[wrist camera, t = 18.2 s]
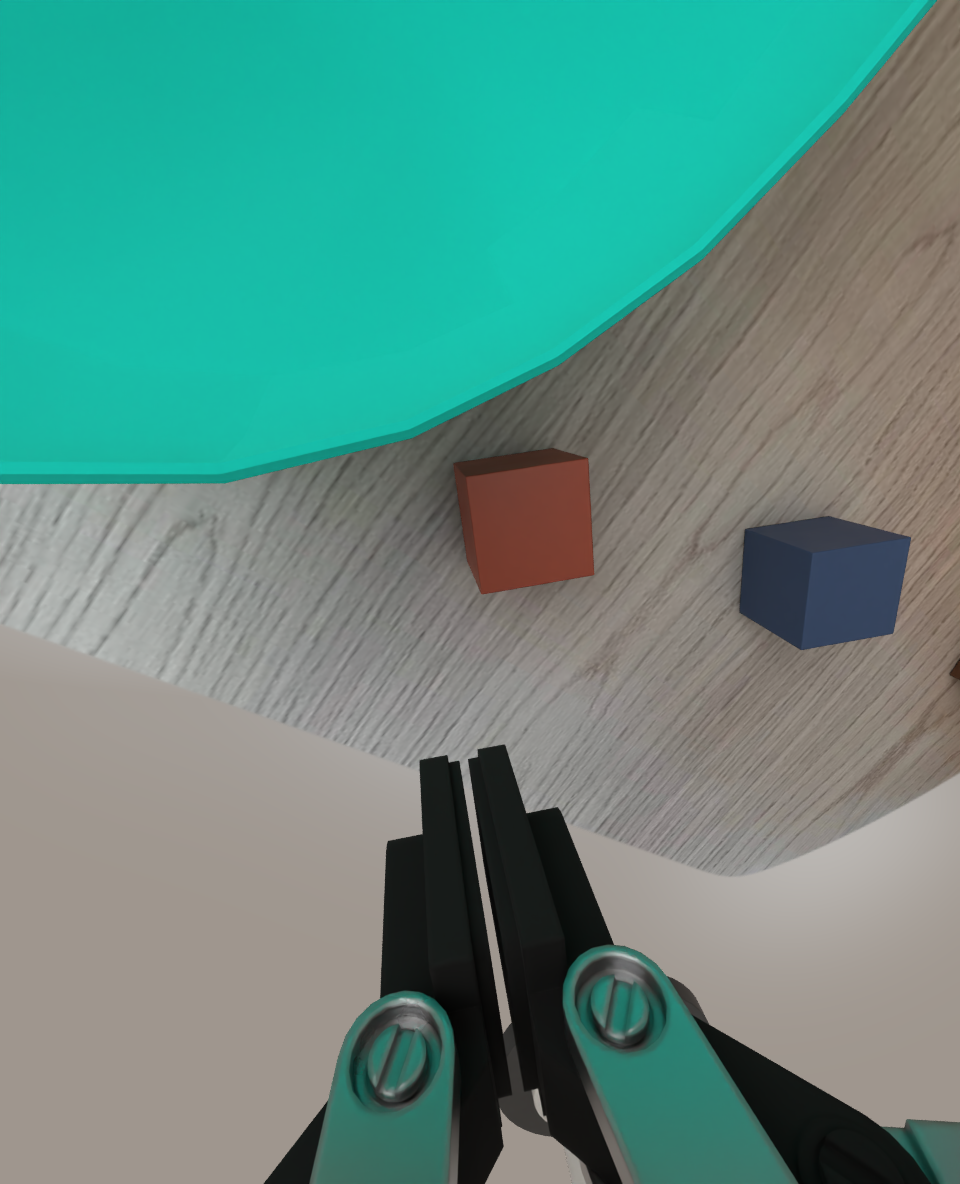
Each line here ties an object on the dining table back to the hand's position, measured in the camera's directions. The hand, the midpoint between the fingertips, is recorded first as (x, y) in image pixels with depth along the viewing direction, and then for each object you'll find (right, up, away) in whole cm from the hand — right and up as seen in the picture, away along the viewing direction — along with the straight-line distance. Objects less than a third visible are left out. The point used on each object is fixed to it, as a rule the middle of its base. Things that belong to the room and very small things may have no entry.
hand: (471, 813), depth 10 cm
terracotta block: (+2, +9, +16) cm, 18 cm away
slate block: (+17, +6, +19) cm, 27 cm away
